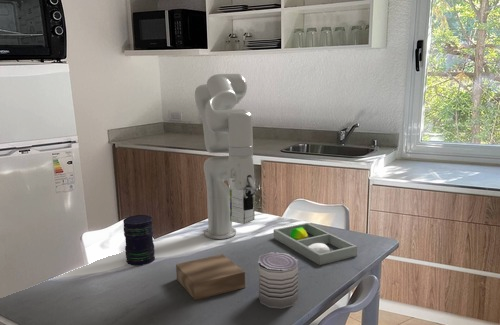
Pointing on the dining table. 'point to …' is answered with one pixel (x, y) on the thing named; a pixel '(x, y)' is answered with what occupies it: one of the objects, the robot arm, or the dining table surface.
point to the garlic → (319, 247)
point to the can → (278, 280)
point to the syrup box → (239, 205)
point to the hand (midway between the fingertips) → (242, 206)
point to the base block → (210, 276)
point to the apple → (298, 234)
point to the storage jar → (139, 240)
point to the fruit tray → (320, 237)
